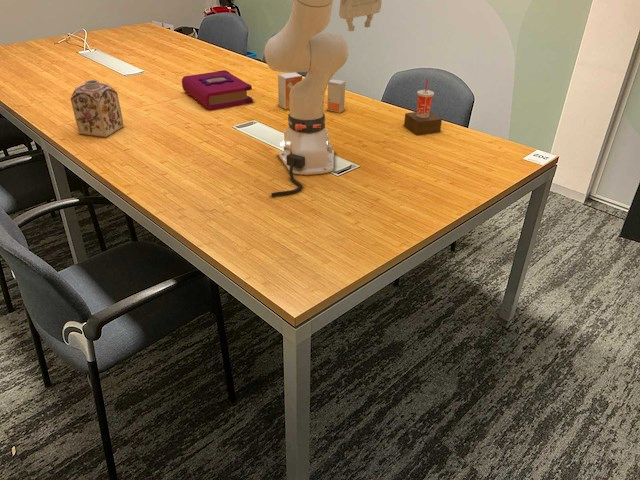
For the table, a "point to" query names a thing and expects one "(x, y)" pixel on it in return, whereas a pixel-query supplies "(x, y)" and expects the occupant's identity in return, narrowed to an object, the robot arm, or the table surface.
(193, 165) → the table surface
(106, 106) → the decorative jar
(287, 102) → the small box
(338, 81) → the cosmetic box
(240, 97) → the book
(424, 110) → the beverage cup
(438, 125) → the walnut block
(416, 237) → the table surface
